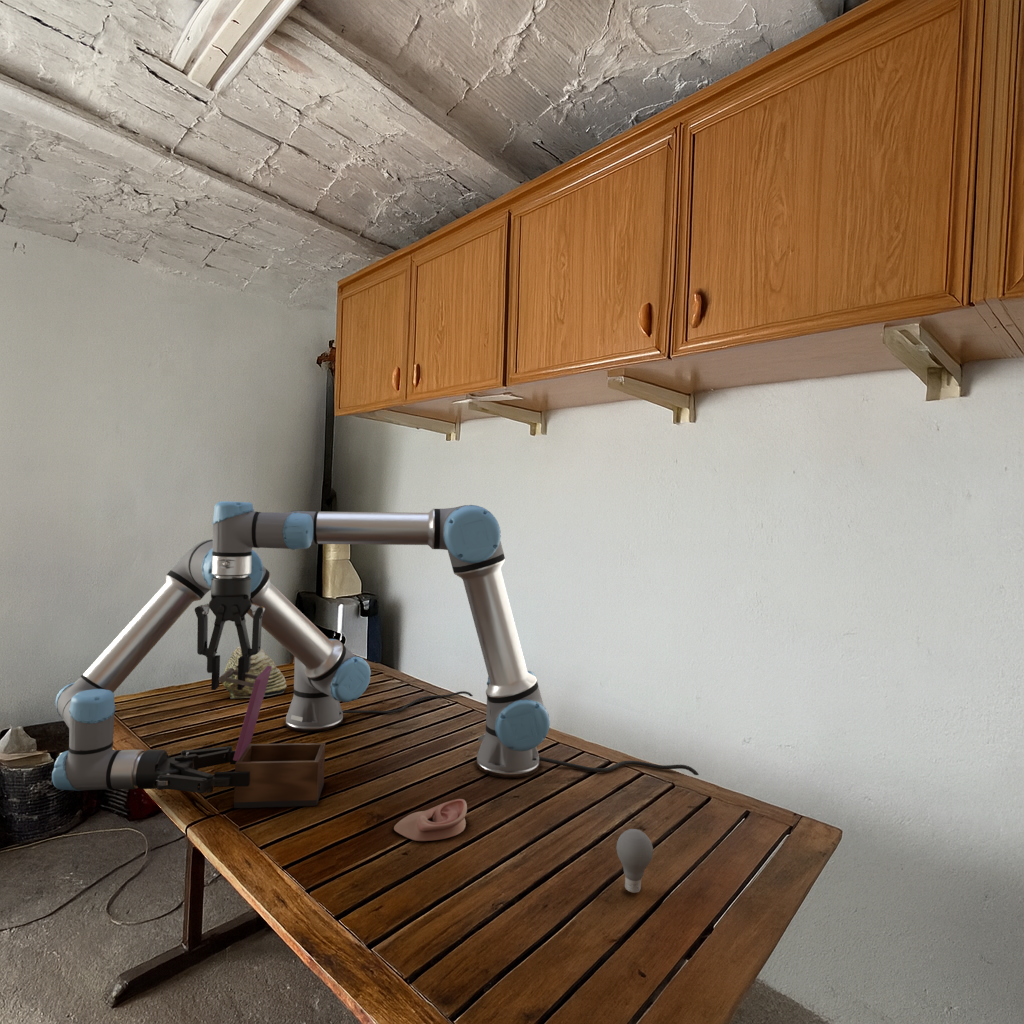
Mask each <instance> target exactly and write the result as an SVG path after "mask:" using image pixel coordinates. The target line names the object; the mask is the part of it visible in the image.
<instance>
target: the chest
mask: <svg viewBox="0 0 1024 1024" xmlns="http://www.w3.org/2000/svg"><path fill="white" fill-rule="evenodd" d="M325 756H326V742H308V743H307V742H305V743H303V742H301V743H250V744H249V745H248V747H247V748H246V750H245V751H244V753H243V754H242V756H241V757H240V759H239V760H238V761H237V762H236V763H235V764H234V772H249V771H250V777H249V786H241V787H234V791H233V792H234V793H233V809H257V808H258V809H259V808H260V809H261V808H288V807H289V808H293V807H295V808H296V807H316V806H318V803H319V800H320V797H321V794H322V791H323V789H324V784H325V765H326V764H325V763H326V762H325V761H326V760H325V759H326V757H325Z"/></svg>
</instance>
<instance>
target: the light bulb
mask: <svg viewBox="0 0 1024 1024" xmlns="http://www.w3.org/2000/svg"><path fill="white" fill-rule="evenodd" d="M615 849H616V854H617V857H618V859H619V861H620V863H621V865H622V867H623V873H624V874H623V875H624V876H625V878H624V888H625V890H627V891H628V892H630V893H634V894H635V893H639V892H640V891H641V889H642V887H641V886H642V879H643V877H644V875H645V871H646V868H647V867H648V866H649V864H650V863H651V861H652V859H653V855H654V847H653V843H652V841H651V838H649V836H648V835H647V834H646V833H645V832H643V831H642V830H641V829H636V828H629V829H627V830H625V831H623V832H622V833H621V834H620V835H619V837H618V839H617V841H616V847H615Z"/></svg>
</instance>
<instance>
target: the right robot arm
mask: <svg viewBox="0 0 1024 1024" xmlns="http://www.w3.org/2000/svg"><path fill="white" fill-rule="evenodd" d="M211 524H212V539H213V552H212V574H213V575H215V577H213V578H212V579H211V590H210V598H209V600H208V602H207V603H205V604H200V605H198V606H196V607H195V608H194V613H195V615H196V618H197V632H196V633H197V635H196V636H197V640H196V641H197V645H196V647H197V648H196V649H197V650H196V651H197V655H199V656H205V657H206V672H207V674H211V688H210V690H211V691H216V690H217V689H218V688H220V681H219V677H220V676H221V675H220V674H221V673H220V672H221V654H218V648H219V644H220V641H221V637H222V633H223V630H224V626H225V624H226V622H234V626H235V627H236V632H237V637H238V642H239V647H241V652H242V656H241V657H240V658H238V680H242V681H245V673H248V672H249V670H250V665H251V656H252V655H256V654H257V653H258V652H259V651H260V649H262V647H261V644H262V629H263V627H262V616H263V613H264V611H265V606H258V605H256V604H253V601H252V600H251V596H250V595H251V578H250V577H249V576H248V575H249V574H251V558H252V550H253V549H260V548H262V549H285V550H292V551H295V550H303V549H304V550H306V549H309V548H310V547H311V545H377V546H379V545H380V546H381V545H386V546H391V545H393V546H396V545H398V546H429V547H430V548H431V549H432V550H443V551H444V550H445V551H447V553H448V557H449V560H450V565H451V568H452V571H453V574H454V575H455V576H457V577H459V578H460V579H461V580H462V581H463V587H464V589H465V594H466V597H467V601H468V605H469V608H470V612H471V616H472V619H473V623H474V628H475V630H476V634H477V638H478V642H479V646H480V649H481V653H482V657H483V662H484V663H485V668H486V672H487V682H486V685H487V688H486V689H485V695H486V711H485V712H486V713H485V731H484V733H482V734H481V735H480V736H478V738H477V743H480V742H481V743H480V746H479V747H478V748H479V749H478V752H477V754H476V767H477V768H478V769H479V771H481V772H482V773H485V774H487V775H490V776H493V777H498V778H503V779H504V778H505V779H517V778H526V777H528V776H531V775H534V774H535V773H536V772H537V771H539V769H540V762H545V763H549V764H553V765H558V766H561V767H566V768H571V769H576V770H580V771H585V772H591V773H608V772H612V771H615V770H616V769H618V768H620V767H623V766H632V765H633V766H641V767H646V768H651V769H658V770H678V769H679V770H687V771H689V772H690V773H692V775H694V776H699V775H700V774H699V773H698V770H697V769H696V770H697V771H696V770H695V769H694V768H693V767H692V766H689V765H687V764H666V765H664V764H657V763H652V762H651V763H650V762H645V761H640V760H622V761H619V762H617V763H615V764H613V765H611V766H608V767H590V766H585V765H581V764H576V763H572V762H567V761H562V760H559V759H554V758H549V757H544V756H540V755H539V750H538V748H537V747H539V746H540V745H541V744H542V743H543V742H544V741H545V739H546V738H547V736H548V734H549V731H550V725H551V721H550V713H549V711H548V710H547V708H546V706H545V705H544V702H543V701H544V700H543V698H542V694H541V691H540V687H539V682H538V678H537V677H536V674H535V673H534V672H533V671H531V670H528V668H527V665H526V660H525V657H524V653H523V649H522V645H521V641H520V638H519V633H518V630H517V625H516V623H515V619H514V614H513V611H512V607H511V603H510V600H509V599H510V598H509V596H508V595H509V594H508V591H507V588H506V584H505V580H504V576H503V571H502V567H503V565H504V563H505V561H506V557H505V552H504V549H503V545H502V541H501V538H502V534H501V533H502V532H501V531H502V530H501V527H500V524H499V521H498V520H497V518H496V517H495V515H494V514H493V513H492V512H491V511H490V510H488V509H487V508H485V507H483V506H480V505H477V504H476V505H475V504H465V505H460V506H455V507H447V508H446V507H445V508H432V509H431V510H430V511H428V512H396V511H395V512H394V511H393V512H389V511H388V512H387V511H385V512H384V511H383V512H381V511H310V510H309V511H304V510H291V511H284V512H271V511H270V512H269V511H267V512H264V511H263V512H262V511H256V510H255V509H254V504H253V503H252V502H250V501H230V500H229V501H226V500H225V501H217V502H216V503H215V505H214V507H213V518H212V522H211ZM250 609H251V610H252V615H254V618H252V631H251V632H252V633H251V634H252V635H251V643H250V638H249V633H248V628H247V624H246V622H247V620H246V615H247V612H248V611H249V610H250ZM210 611H211V612H212V613H213V614H214V616H215V619H214V623H213V625H214V626H213V629H212V632H211V636H210V640H209V644H208V639H209V638H208V636H209V635H208V631H209V630H208V627H209V626H208V625H209V617H208V614H209V613H210ZM243 687H244V685H240V684H238V690H242V689H243Z"/></svg>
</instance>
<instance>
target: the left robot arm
mask: <svg viewBox="0 0 1024 1024" xmlns="http://www.w3.org/2000/svg"><path fill="white" fill-rule="evenodd" d="M212 552H213V538H211V539H206V540H203V541H201V542H199V543H197V544H195V545H194V546H193V547H191V548H190V549H189V550H188V551H187V552H185V554H184V555H183V556H182V557H181V558H180V559H179V560H178V561H177V562H176V563H175V565H174V566H173V567H172V568H171V569H170V570H169V571H168V573H166V575H165V582H164V584H163V585H162V586H161V587H160V588H159V589H158V590H157V591H156V592H155V593H154V595H153V596H152V597H151V598H150V599H149V600H148V601H147V602H146V604H144V606H143V607H142V608H141V609H140V610H139V612H138V613H136V614H135V616H134V617H133V618H132V619H131V620H130V621H129V623H127V625H125V627H124V628H123V629H122V630H121V631H120V632H119V633H118V635H116V637H115V638H114V639H113V640H112V641H111V642H110V644H108V646H106V648H105V649H104V650H103V651H102V652H101V653H100V655H99V656H98V657H97V658H96V659H95V660H94V661H93V662H92V663H91V665H90V666H88V668H87V669H86V670H85V671H84V672H83V673H82V674H81V675H80V676H79V677H78V679H77V680H75V682H71V683H69V684H68V683H67V685H65V686H63V687H62V688H61V689H60V690H59V692H58V693H57V695H56V697H55V702H54V704H55V708H56V713H57V714H58V716H59V717H60V718H61V719H62V720H63V721H64V723H65V725H66V726H67V728H68V730H69V731H68V732H69V733H68V734H69V735H68V736H69V737H68V750H65V751H63V752H62V753H60V754H59V756H57V758H56V759H55V762H54V764H53V769H52V772H51V782H52V785H53V786H54V787H55V788H56V789H57V790H61V791H76V792H84V791H107V790H108V791H109V790H114V791H115V790H123V791H124V792H128V791H129V790H136V789H139V790H160V791H161V790H172V791H180V792H190V793H197V794H205V793H207V794H209V793H212V792H213V791H214V788H230V787H232V788H235V787H241V786H249V777H250V771H249V772H235V771H214V774H212V773H209V772H205V771H202V770H201V769H204V768H209V767H215V766H219V765H223V764H228V763H229V765H230V766H231V765H234V766H235V763H236V762H237V761H235V760H233V758H234V754H235V751H236V750H233V746H232V745H227V746H219V747H211V748H209V747H208V748H201V749H183V750H181V752H180V755H176V756H172V757H171V756H169V754H168V752H167V750H166V749H147V750H145V749H141V748H140V749H114V731H115V713H116V704H115V692H116V690H117V689H119V687H120V686H121V685H122V684H123V683H124V681H125V680H126V679H127V678H128V677H129V676H130V674H131V673H132V672H133V671H134V670H135V669H136V668H137V667H138V665H139V664H140V663H141V662H142V661H143V660H144V659H145V657H146V656H147V655H148V654H149V653H150V652H151V650H152V649H153V648H154V647H155V646H156V645H157V644H158V643H159V641H160V640H161V639H162V638H163V637H164V636H165V634H167V632H168V631H169V630H170V629H171V628H172V626H173V625H174V624H175V623H176V622H177V621H178V619H180V617H181V616H182V615H183V614H184V613H185V611H187V610H188V608H189V607H190V606H191V605H192V604H193V603H194V602H197V601H201V600H202V599H204V597H205V595H206V594H207V593H208V592H211V579H212V578H213V577H215V575H213V574H212ZM248 576H249V577H250V578H251V595H250V596H251V600H252V601H253V604H256V605H258V606H265V611H264V613H263V616H262V629H264V630H265V631H266V632H267V633H268V634H269V635H270V636H271V637H273V638H274V639H275V640H276V642H278V643H279V644H281V646H282V647H284V648H285V649H286V650H287V651H288V652H289V653H290V654H291V655H292V656H293V657H294V672H293V695H292V696H293V697H292V699H291V702H290V704H289V708H288V711H287V713H286V715H285V726H286V728H287V729H289V730H291V731H294V732H295V731H296V732H301V733H316V732H325V731H329V730H332V729H335V728H337V727H339V726H340V725H342V723H343V722H344V714H380V715H381V714H382V715H383V714H385V715H387V714H395V713H399V712H402V711H404V710H405V709H406V708H408V707H410V706H413V705H414V704H415V703H417V702H420V701H423V700H427V699H439V698H450V697H453V696H457V695H463V694H464V695H467V696H469V697H473V696H474V695H473V694H472V693H471V692H469V691H464V690H463V691H456V692H453V693H448V694H438V695H437V694H435V695H427V696H422V697H418V698H416V699H414V700H412V701H411V702H409V703H407V704H405V705H403V706H402V707H399V708H396V709H393V710H366V709H365V710H364V709H363V710H360V709H359V710H352V709H351V710H343V709H342V706H341V702H343V703H350V702H353V701H356V700H357V699H359V698H360V697H361V696H362V695H363V694H364V693H365V692H366V690H367V689H368V687H369V684H370V682H371V675H372V670H371V666H370V664H369V662H367V661H366V660H365V659H364V658H363V657H361V656H357V655H355V654H354V653H353V652H352V651H351V650H350V649H349V648H347V646H346V645H345V644H344V643H343V642H342V641H340V640H339V639H336V638H329V637H328V636H326V634H324V633H323V631H321V630H320V629H319V628H318V627H317V625H315V624H314V622H312V620H310V619H309V618H308V617H307V616H306V615H305V614H304V613H302V611H301V610H300V609H298V607H296V606H295V604H293V602H291V600H289V598H287V597H286V596H285V595H284V594H283V592H281V591H280V590H279V589H278V588H277V587H276V586H275V585H274V584H273V583H272V582H271V572H270V571H269V570H268V569H267V568H266V567H265V566H264V564H263V561H262V559H261V557H260V556H259V555H258V553H257V552H256V551H255V550H253V549H252V558H251V574H249V575H248ZM246 615H248V616H249V617H250V618H252V619H253V618H254V615H252V610H251V609H250V610H249V611H248V612H247V613H246Z"/></svg>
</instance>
